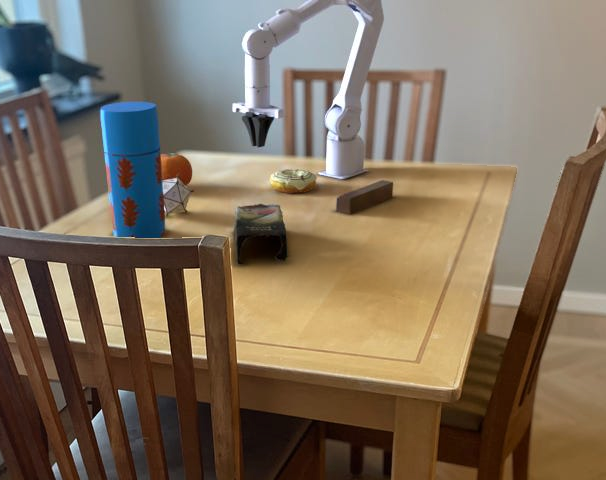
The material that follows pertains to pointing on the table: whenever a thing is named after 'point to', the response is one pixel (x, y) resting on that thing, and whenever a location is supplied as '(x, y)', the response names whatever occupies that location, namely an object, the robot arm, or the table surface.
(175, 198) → the game die
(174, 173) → the fruit
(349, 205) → the bar
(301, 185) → the decorated donut
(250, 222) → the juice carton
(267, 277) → the table surface
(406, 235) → the table surface
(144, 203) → the thermos
